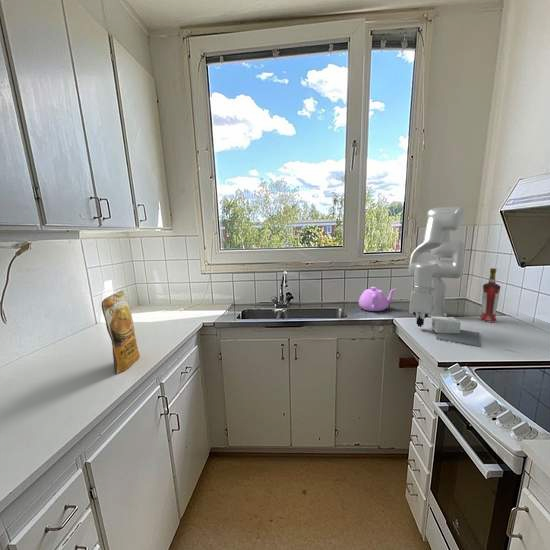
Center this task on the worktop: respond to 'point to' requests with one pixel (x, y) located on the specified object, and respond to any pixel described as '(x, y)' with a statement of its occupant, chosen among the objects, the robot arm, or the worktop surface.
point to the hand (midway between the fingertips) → (419, 325)
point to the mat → (461, 337)
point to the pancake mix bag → (120, 331)
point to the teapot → (375, 299)
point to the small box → (445, 325)
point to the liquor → (490, 298)
